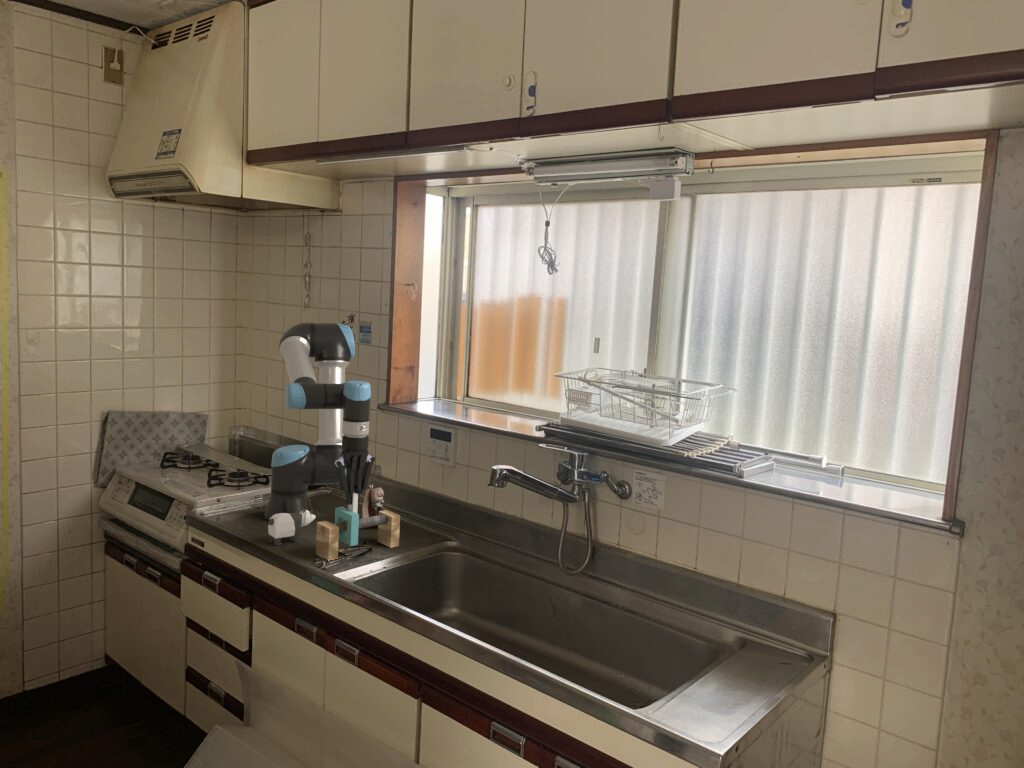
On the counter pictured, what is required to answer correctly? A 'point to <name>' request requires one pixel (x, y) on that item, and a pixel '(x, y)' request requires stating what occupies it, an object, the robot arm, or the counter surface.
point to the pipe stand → (385, 521)
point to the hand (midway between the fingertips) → (352, 514)
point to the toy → (367, 505)
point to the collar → (353, 525)
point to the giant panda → (288, 525)
